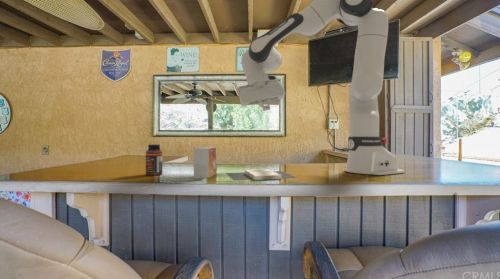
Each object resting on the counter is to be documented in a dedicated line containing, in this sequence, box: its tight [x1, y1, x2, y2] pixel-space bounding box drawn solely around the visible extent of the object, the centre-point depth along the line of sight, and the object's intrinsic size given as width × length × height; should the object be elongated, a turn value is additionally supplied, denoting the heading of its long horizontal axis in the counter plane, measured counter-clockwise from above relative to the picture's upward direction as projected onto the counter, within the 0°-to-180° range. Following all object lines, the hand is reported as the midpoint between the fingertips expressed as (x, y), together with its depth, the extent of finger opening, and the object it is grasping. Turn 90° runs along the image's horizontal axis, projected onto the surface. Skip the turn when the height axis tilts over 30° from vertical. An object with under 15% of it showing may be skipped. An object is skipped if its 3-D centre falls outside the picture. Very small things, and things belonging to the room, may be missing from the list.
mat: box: [225, 170, 298, 181], centre depth 100 cm, size 22×16×1 cm
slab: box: [244, 169, 283, 181], centre depth 97 cm, size 9×1×14 cm
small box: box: [193, 146, 217, 180], centre depth 99 cm, size 8×6×10 cm
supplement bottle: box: [145, 143, 163, 177], centre depth 105 cm, size 6×6×11 cm
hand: (267, 109), depth 121 cm, fingers closed
